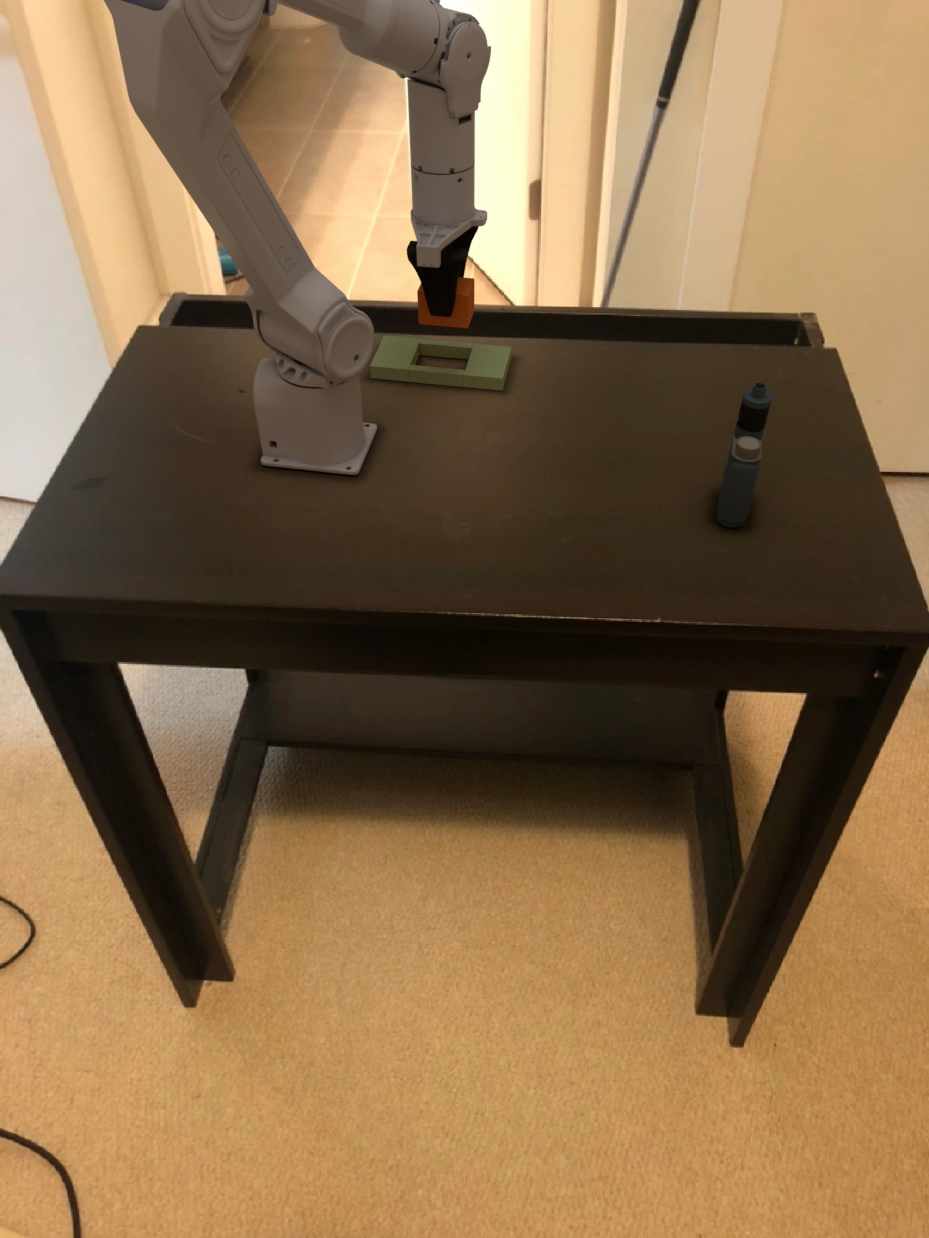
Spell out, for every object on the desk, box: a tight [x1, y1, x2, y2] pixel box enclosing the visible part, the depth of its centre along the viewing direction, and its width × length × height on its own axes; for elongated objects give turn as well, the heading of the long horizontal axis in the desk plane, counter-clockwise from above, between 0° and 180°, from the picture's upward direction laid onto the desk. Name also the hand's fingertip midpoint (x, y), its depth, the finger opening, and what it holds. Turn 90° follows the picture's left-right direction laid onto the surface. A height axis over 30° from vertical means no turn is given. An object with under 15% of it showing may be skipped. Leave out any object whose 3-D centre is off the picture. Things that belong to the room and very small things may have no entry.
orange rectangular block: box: [416, 277, 475, 329], centre depth 97 cm, size 5×4×4 cm
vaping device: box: [716, 381, 773, 529], centre depth 83 cm, size 3×5×12 cm, turn 166°
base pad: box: [369, 334, 513, 392], centre depth 104 cm, size 14×6×2 cm, turn 80°
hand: (445, 304), depth 97 cm, fingers closed on orange rectangular block, 3 cm apart
